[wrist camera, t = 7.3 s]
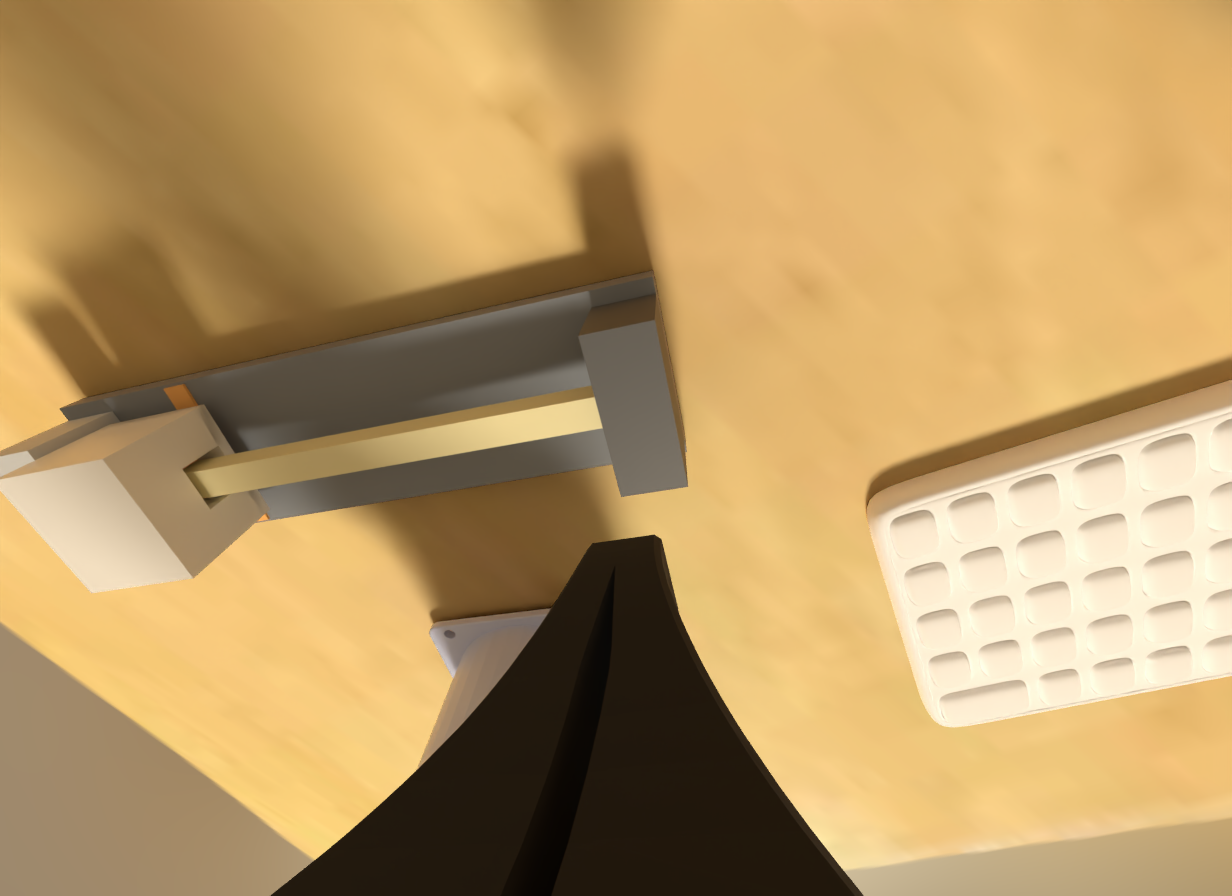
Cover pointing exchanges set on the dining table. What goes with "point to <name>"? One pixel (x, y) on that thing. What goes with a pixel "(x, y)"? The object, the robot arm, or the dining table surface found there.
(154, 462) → the beige sliding bead
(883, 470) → the dining table surface
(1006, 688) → the calculator
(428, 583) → the dining table surface
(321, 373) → the cord board
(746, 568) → the dining table surface
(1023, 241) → the dining table surface
